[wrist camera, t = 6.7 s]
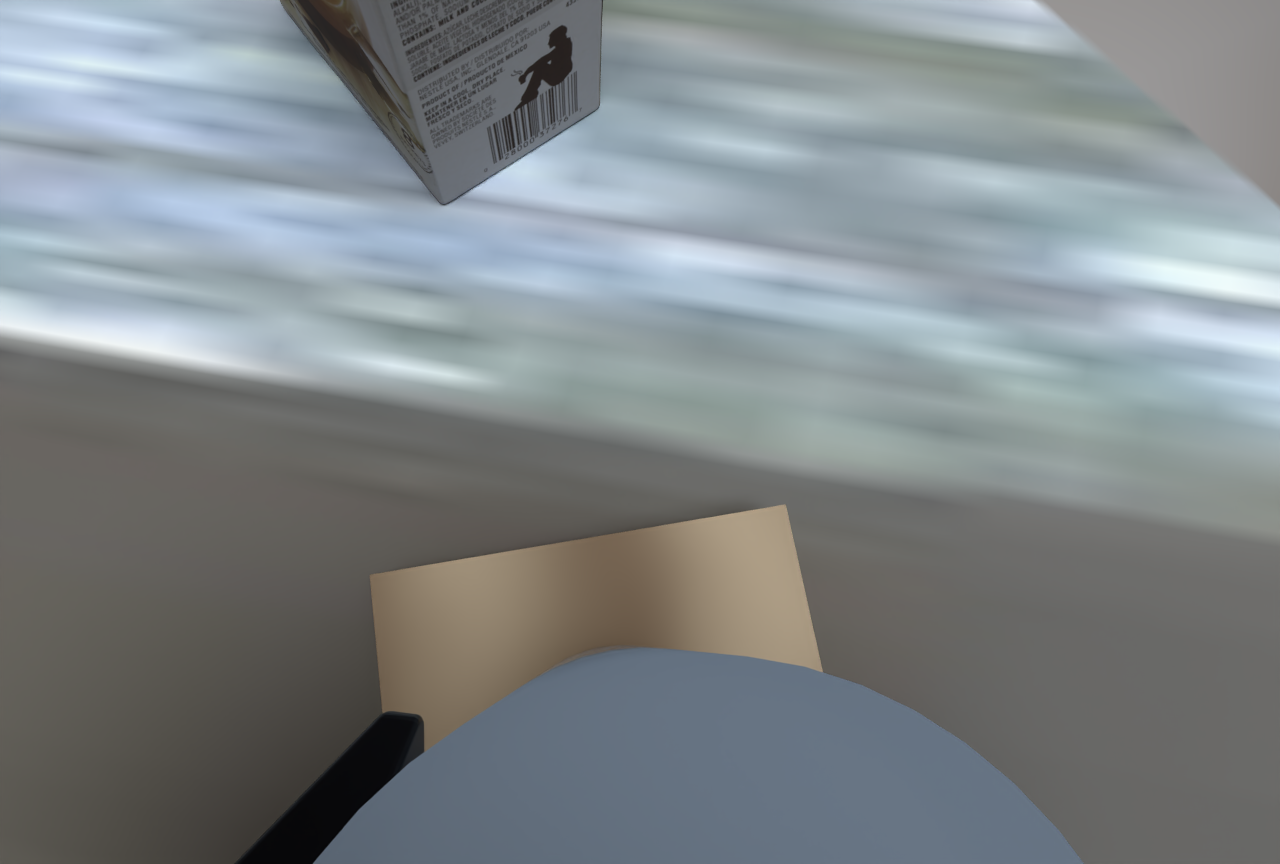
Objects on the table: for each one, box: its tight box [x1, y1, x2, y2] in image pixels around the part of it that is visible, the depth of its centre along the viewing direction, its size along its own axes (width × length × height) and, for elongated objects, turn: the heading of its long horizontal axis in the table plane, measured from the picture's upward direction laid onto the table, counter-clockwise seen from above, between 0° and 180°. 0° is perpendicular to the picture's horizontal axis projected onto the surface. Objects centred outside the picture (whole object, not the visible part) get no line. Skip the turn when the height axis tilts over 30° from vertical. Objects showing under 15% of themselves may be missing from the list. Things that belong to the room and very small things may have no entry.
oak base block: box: [370, 505, 823, 751], centre depth 19 cm, size 10×10×2 cm
